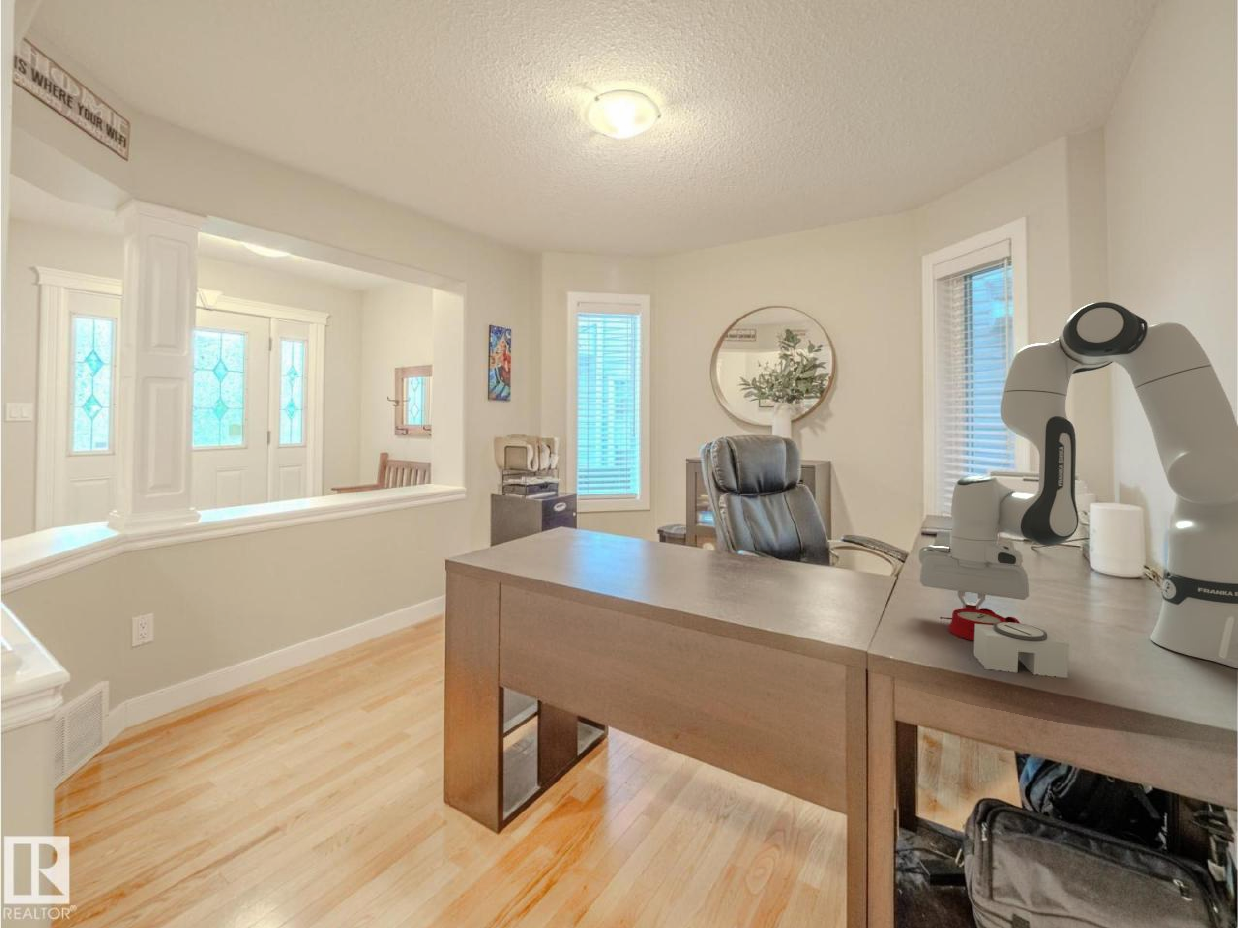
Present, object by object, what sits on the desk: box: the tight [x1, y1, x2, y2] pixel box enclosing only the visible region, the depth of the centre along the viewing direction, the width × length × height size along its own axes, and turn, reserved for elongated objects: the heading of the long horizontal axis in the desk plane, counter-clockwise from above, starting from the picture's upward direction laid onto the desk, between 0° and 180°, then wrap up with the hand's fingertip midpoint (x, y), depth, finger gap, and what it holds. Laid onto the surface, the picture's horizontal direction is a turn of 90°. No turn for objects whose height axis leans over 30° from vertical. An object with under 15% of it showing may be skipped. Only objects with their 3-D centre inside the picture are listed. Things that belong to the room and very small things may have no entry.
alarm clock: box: [939, 607, 1021, 642], centre depth 111 cm, size 10×6×15 cm
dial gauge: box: [972, 622, 1070, 679], centre depth 96 cm, size 12×8×7 cm, turn 74°
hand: (970, 611), depth 120 cm, fingers closed
